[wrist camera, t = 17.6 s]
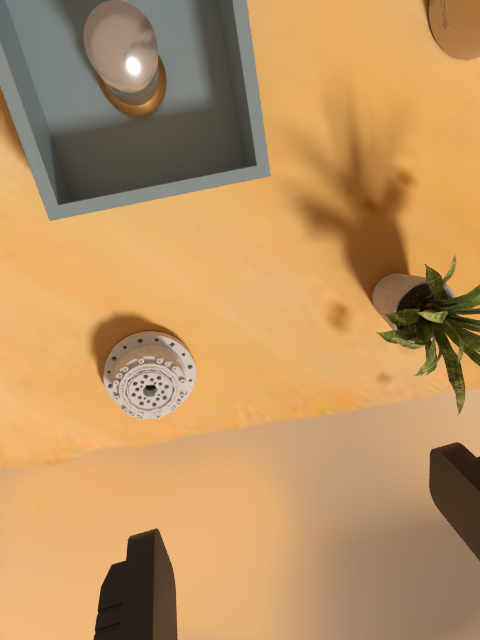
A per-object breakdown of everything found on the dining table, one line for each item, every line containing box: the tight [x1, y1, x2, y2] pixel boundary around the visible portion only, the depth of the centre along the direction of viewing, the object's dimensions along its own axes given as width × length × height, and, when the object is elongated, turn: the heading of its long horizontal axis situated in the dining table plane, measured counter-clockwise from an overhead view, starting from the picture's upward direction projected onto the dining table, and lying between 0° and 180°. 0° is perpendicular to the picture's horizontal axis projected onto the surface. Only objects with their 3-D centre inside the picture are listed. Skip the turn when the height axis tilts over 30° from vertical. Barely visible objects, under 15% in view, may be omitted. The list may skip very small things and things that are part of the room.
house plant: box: [372, 254, 480, 413], centre depth 38 cm, size 14×14×16 cm
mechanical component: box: [103, 331, 196, 420], centre depth 42 cm, size 10×4×10 cm
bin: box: [0, 0, 271, 221], centre depth 31 cm, size 18×18×6 cm
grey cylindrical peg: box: [84, 0, 167, 118], centre depth 27 cm, size 5×5×12 cm
